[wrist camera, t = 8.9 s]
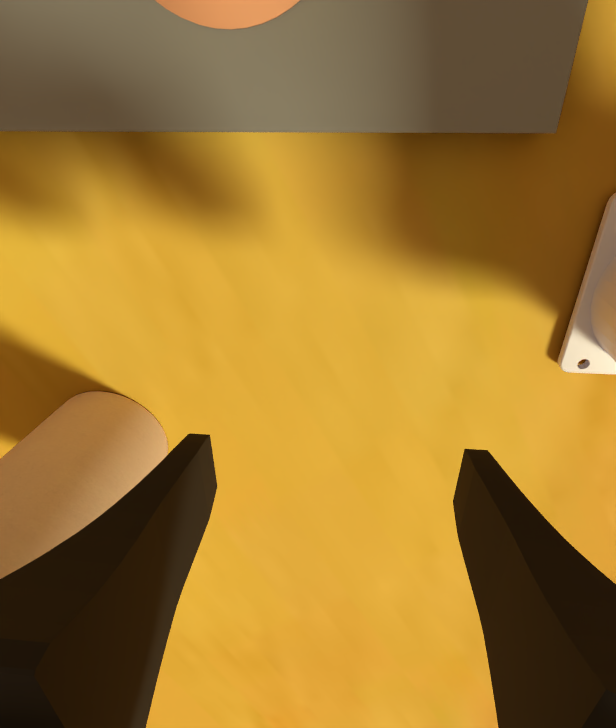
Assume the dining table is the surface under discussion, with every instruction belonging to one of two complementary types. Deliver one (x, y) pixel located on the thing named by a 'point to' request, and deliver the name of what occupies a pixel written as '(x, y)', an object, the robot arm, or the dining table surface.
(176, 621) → the dining table surface
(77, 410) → the coffee cup
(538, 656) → the robot arm
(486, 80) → the post board
